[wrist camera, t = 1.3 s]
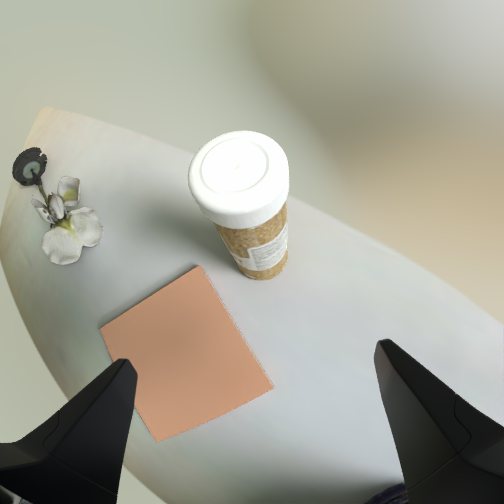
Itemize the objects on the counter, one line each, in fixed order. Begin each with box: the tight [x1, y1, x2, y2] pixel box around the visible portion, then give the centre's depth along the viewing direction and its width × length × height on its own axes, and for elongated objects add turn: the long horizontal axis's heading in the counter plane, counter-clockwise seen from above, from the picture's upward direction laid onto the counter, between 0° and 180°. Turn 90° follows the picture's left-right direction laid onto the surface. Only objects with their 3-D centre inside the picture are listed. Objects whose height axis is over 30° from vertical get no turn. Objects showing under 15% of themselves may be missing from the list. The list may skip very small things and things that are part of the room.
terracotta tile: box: [100, 265, 274, 442], centre depth 22 cm, size 12×12×1 cm
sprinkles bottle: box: [188, 131, 289, 280], centre depth 18 cm, size 5×4×14 cm
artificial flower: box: [12, 147, 104, 265], centre depth 27 cm, size 9×22×10 cm, turn 45°
